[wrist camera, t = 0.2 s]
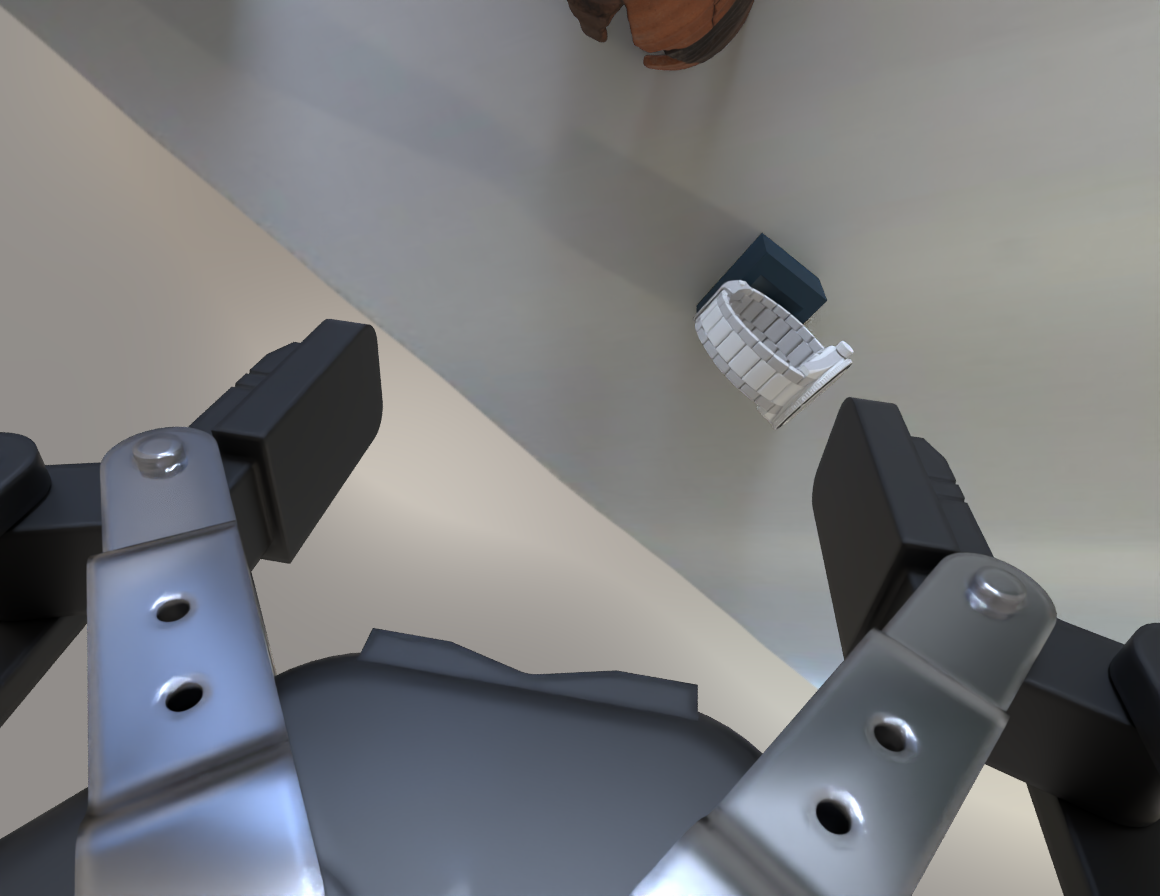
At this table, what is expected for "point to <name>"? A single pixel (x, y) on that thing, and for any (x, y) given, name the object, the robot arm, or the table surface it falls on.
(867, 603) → the robot arm
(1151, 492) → the table surface
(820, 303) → the watch
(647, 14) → the broken clay pot
